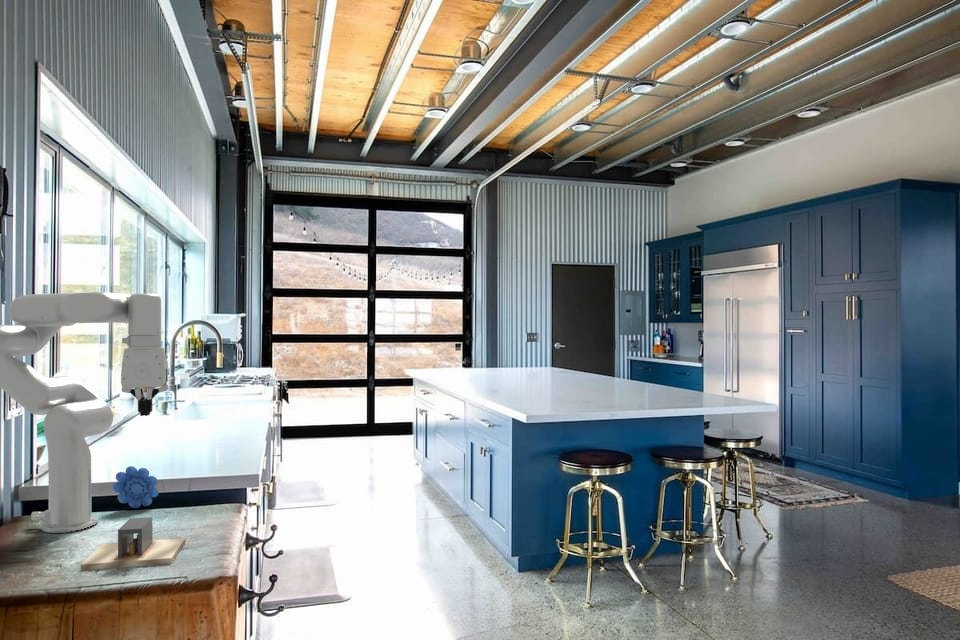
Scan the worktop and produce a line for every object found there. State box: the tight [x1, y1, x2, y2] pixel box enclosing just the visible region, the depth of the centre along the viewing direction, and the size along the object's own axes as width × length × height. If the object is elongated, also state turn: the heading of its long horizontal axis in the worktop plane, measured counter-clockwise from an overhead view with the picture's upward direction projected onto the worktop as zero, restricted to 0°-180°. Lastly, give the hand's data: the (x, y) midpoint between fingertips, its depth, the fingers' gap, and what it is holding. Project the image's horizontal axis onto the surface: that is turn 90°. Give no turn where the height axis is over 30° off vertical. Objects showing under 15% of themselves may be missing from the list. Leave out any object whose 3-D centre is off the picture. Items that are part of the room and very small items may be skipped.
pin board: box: [80, 534, 186, 571], centre depth 154 cm, size 18×14×4 cm
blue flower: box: [112, 465, 160, 509], centre depth 193 cm, size 12×7×12 cm, turn 119°
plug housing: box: [117, 516, 153, 558], centre depth 154 cm, size 5×9×6 cm, turn 12°
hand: (145, 415), depth 173 cm, fingers closed
